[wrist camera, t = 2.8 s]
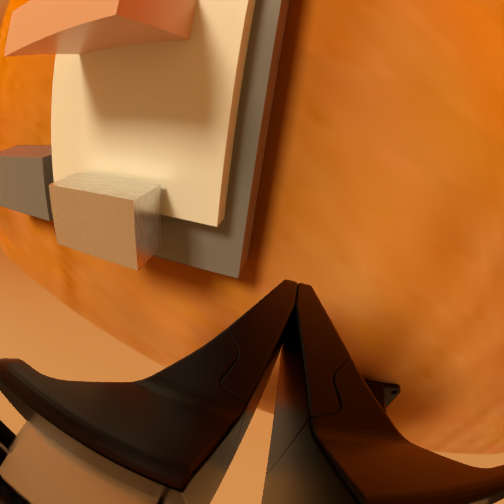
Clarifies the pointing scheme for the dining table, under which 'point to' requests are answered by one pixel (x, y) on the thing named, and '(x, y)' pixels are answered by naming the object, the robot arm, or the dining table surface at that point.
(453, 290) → the dining table surface
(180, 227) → the case
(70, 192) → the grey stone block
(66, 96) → the cover
